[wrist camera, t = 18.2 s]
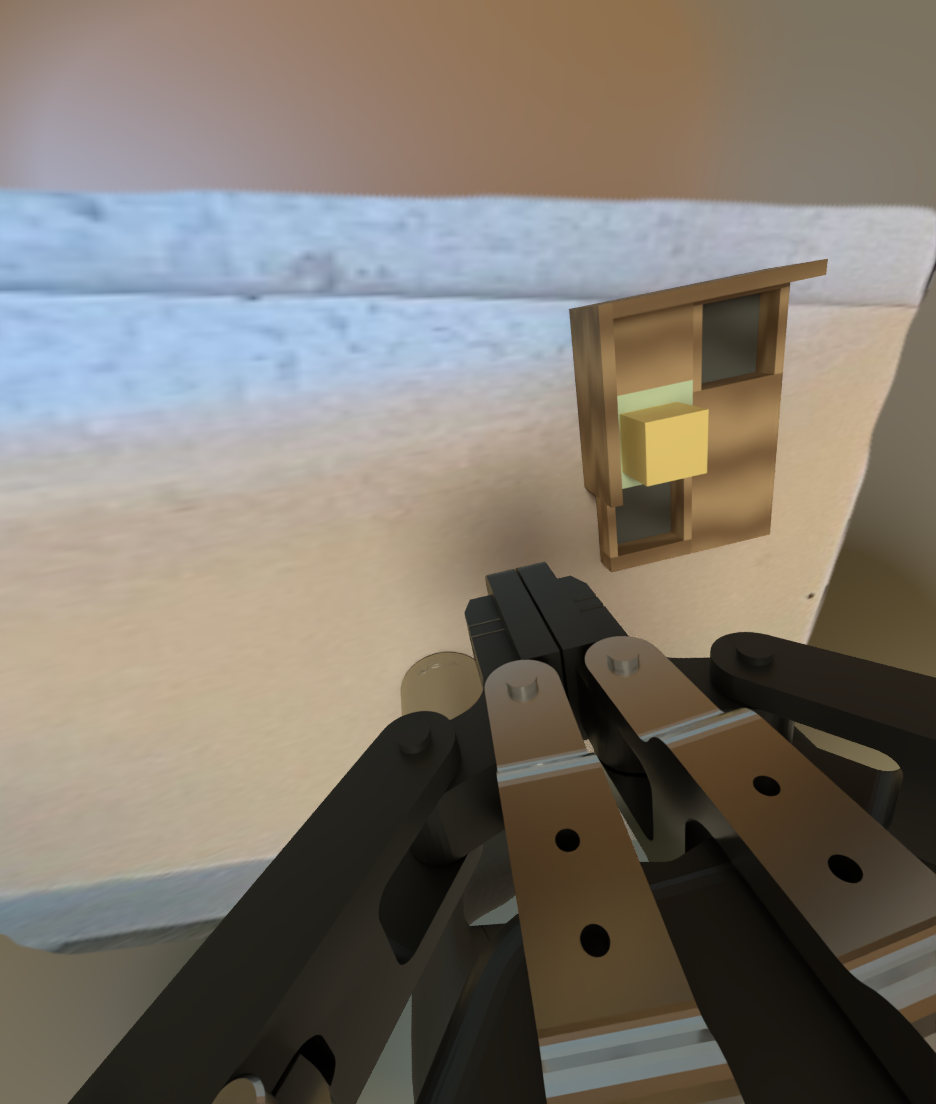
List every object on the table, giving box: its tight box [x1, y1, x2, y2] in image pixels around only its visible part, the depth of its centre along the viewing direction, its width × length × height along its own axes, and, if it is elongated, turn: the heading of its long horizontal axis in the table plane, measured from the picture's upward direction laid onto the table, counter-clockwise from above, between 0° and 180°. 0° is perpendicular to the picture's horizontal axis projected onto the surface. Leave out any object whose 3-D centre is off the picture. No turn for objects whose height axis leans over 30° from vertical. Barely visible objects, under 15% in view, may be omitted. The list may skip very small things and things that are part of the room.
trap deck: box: [569, 259, 828, 572], centre depth 43 cm, size 23×17×6 cm
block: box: [620, 402, 709, 486], centre depth 41 cm, size 5×5×4 cm
